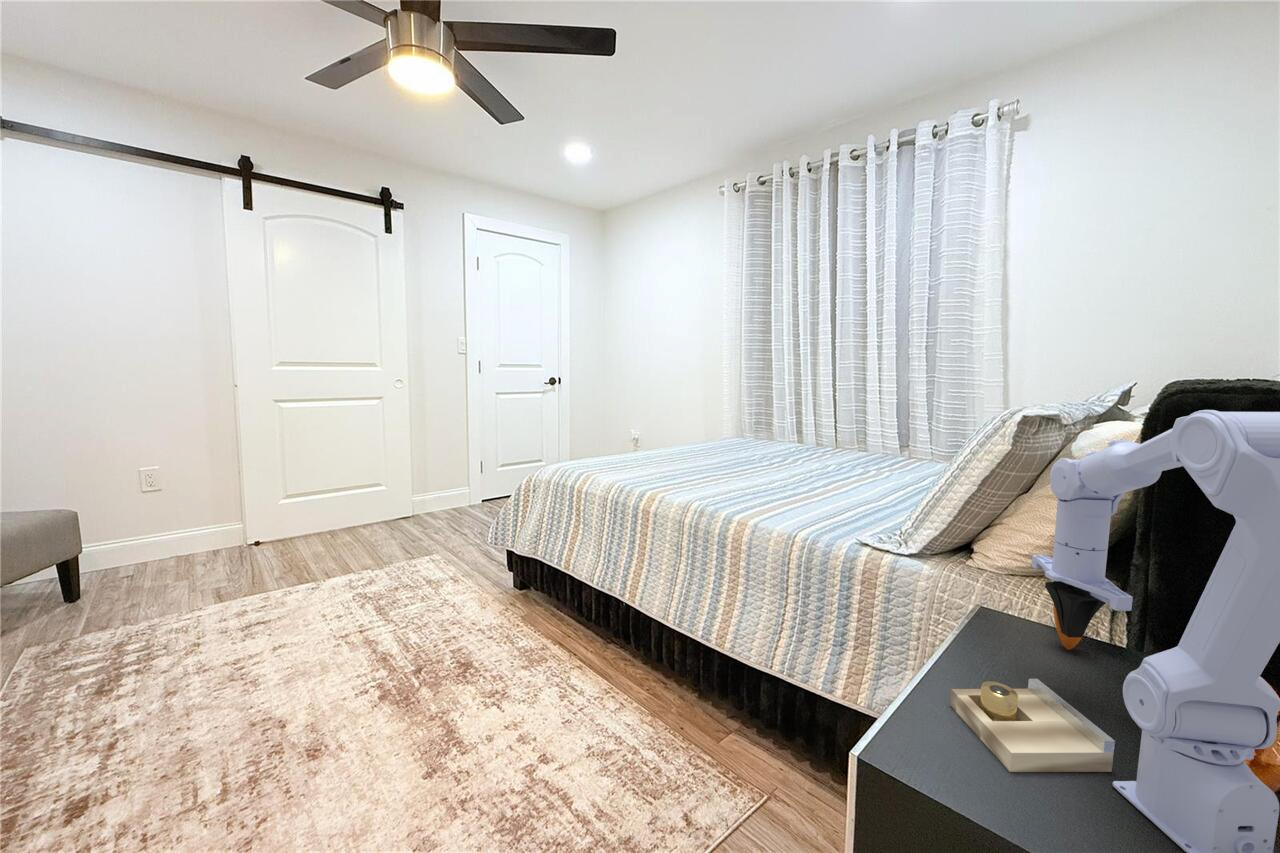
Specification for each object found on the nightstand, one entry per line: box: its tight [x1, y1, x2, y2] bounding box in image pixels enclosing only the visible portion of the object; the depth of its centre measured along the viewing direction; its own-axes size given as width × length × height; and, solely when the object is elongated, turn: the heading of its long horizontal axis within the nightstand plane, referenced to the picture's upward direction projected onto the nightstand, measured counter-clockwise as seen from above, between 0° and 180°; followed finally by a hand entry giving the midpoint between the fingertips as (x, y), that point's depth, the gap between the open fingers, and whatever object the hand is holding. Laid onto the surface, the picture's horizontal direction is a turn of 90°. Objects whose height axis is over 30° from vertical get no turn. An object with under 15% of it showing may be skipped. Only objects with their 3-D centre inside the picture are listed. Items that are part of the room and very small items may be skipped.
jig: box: [949, 678, 1116, 773], centre depth 66 cm, size 12×12×4 cm
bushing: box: [980, 680, 1018, 721], centre depth 68 cm, size 4×4×5 cm
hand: (1071, 635), depth 73 cm, fingers closed
